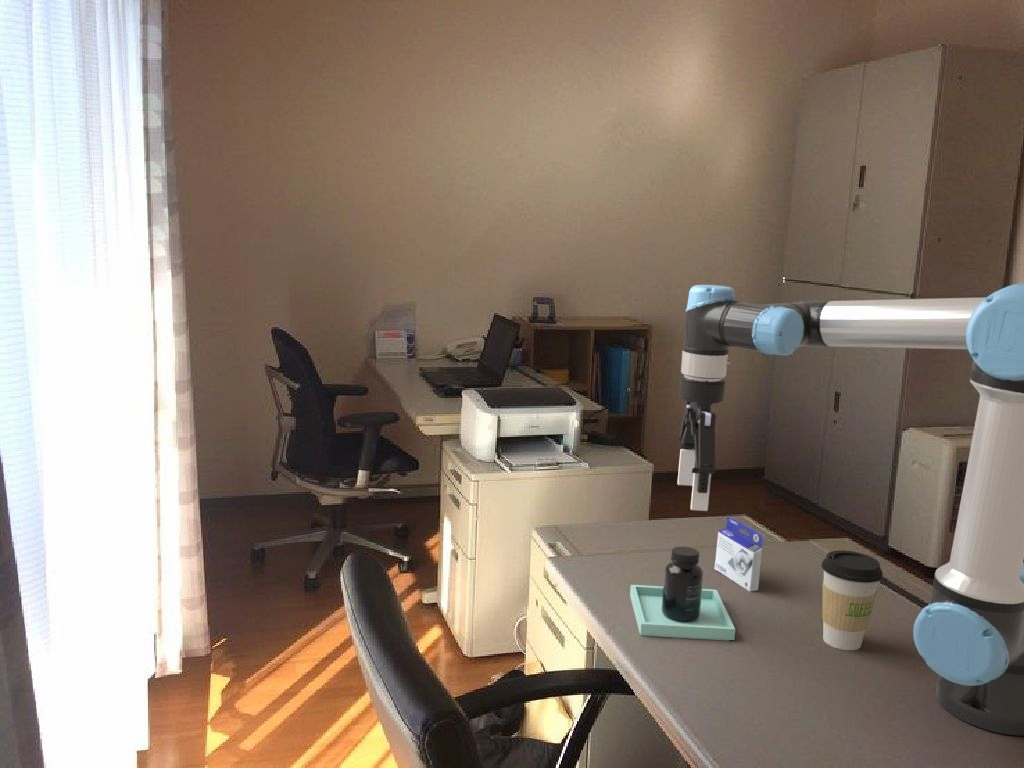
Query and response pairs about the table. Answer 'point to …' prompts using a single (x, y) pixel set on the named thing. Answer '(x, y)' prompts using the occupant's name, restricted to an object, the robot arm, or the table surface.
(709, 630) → the tray
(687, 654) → the table surface
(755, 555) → the ink box
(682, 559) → the supplement bottle
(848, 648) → the coffee cup
